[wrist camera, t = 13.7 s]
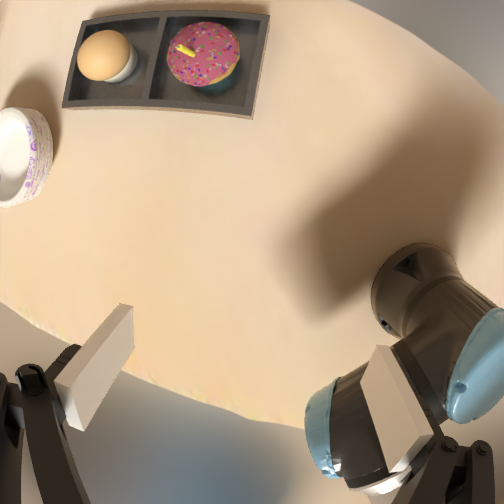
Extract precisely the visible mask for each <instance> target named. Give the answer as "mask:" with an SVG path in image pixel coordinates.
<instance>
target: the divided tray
mask: <svg viewBox="0 0 504 504" xmlns="http://www.w3.org/2000/svg"><path fill="white" fill-rule="evenodd" d="M199 22H212V23H213V22H216V23H217V24H221V25H223V26H225V27H226V28H228V29H229V30H231V32H232V33H233V34H234V35H235V37H236V38H237V40H238V42H239V49H240V58H239V60H238V62H237V63H236V66H235V68H234V69H233V71H232V72H231V74H230V75H229V76H227V77H226V78H224V79H222V80H221V81H219V82H217V83H214V84H210V85H206V86H192V85H190V84H186V83H183V82H181V81H180V80H179V79H177V78H176V77H175V76H174V75H173V73H172V72H171V70H170V69H169V66H168V63H167V60H166V59H167V53H168V47H169V45H170V43H171V41H170V40H173V38H174V37H175V36H176V35H177V33H178V32H180V31H181V29H182V30H183V29H184V28H185V27H186V26H188V25H191V24H195V23H199ZM269 27H270V15H262V14H253V13H243V12H230V11H209V10H175V11H154V12H141V13H131V14H123V15H115V16H108V17H102V18H96V19H91V20H85V21H82V24H81V28H80V31H79V34H78V37H77V41H76V45H75V48H74V52H73V56H72V60H71V64H70V68H69V73H68V77H67V82H66V87H65V92H64V97H63V103H62V108H65V109H72V110H88V109H139V110H163V111H179V112H191V113H202V114H212V115H221V116H229V117H237V118H244V119H251V120H253V115H254V109H255V104H256V98H257V92H258V87H259V81H260V76H261V70H262V64H263V59H264V54H265V48H266V43H267V38H268V32H269ZM104 30H113V31H117V32H119V33H121V34H122V35H123V36H124V37H125V38H126V39H127V40H128V42H129V44H131V45H132V46H133V47H134V48H135V49H136V51H137V54H138V60H137V64H136V66H135V68H134V70H133V72H132V73H131V74H130V75H129V76H128V77H127V78H126V79H124V80H122V81H120V82H117V83H108V82H105V81H96V80H91V79H89V78H87V77H86V76H84V75H83V74H82V73H81V71H80V69H79V67H78V63H77V56H78V52H79V49H80V47H81V45H82V44H83V43H84V41H85V40H86V39H87V38H88V37H90V36H91V35H93V34H95V33H97V32H99V31H104Z"/></svg>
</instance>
